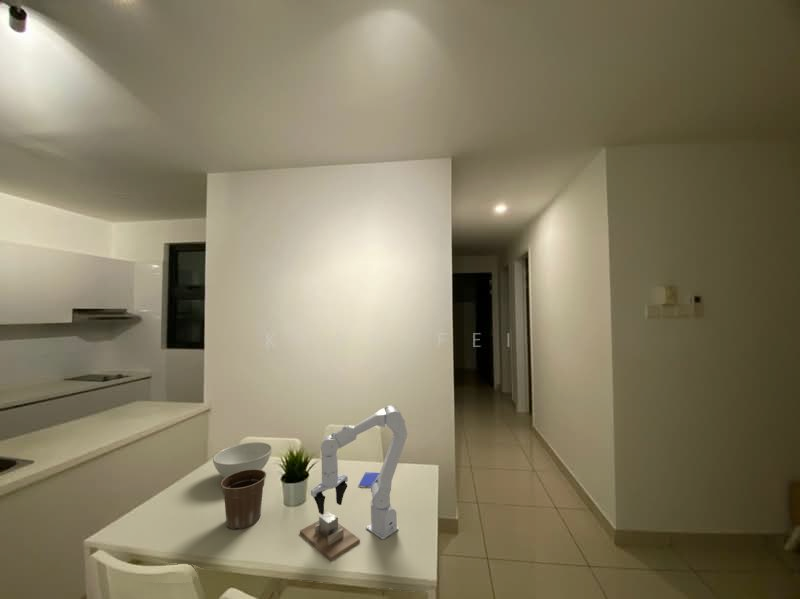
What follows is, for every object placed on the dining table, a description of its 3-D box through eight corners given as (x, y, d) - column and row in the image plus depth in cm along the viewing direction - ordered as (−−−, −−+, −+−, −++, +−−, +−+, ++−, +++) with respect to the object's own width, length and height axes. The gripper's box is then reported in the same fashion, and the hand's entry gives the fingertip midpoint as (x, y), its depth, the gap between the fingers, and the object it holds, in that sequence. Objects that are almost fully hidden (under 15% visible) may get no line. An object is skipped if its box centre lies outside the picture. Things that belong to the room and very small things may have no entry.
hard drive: (365, 472, 164) (358, 484, 151) (381, 472, 162) (375, 485, 150) (365, 475, 164) (358, 488, 151) (381, 476, 162) (375, 489, 150)
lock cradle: (359, 541, 114) (359, 531, 115) (330, 560, 106) (330, 549, 106) (328, 518, 128) (327, 509, 129) (300, 533, 120) (299, 523, 120)
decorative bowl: (199, 485, 157) (200, 459, 158) (245, 461, 182) (245, 439, 182) (240, 495, 147) (240, 468, 147) (283, 469, 171) (283, 445, 172)
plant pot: (248, 504, 140) (248, 465, 141) (275, 513, 132) (274, 473, 133) (211, 525, 126) (211, 482, 126) (238, 538, 118) (238, 492, 119)
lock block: (338, 535, 117) (337, 518, 117) (328, 541, 114) (328, 523, 114) (328, 527, 121) (328, 511, 121) (318, 533, 118) (318, 515, 119)
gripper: (339, 460, 128) (340, 496, 127) (306, 474, 117) (306, 513, 116) (350, 465, 123) (351, 503, 122) (316, 480, 112) (317, 521, 112)
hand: (330, 508), depth 119 cm, fingers open, 7 cm apart
